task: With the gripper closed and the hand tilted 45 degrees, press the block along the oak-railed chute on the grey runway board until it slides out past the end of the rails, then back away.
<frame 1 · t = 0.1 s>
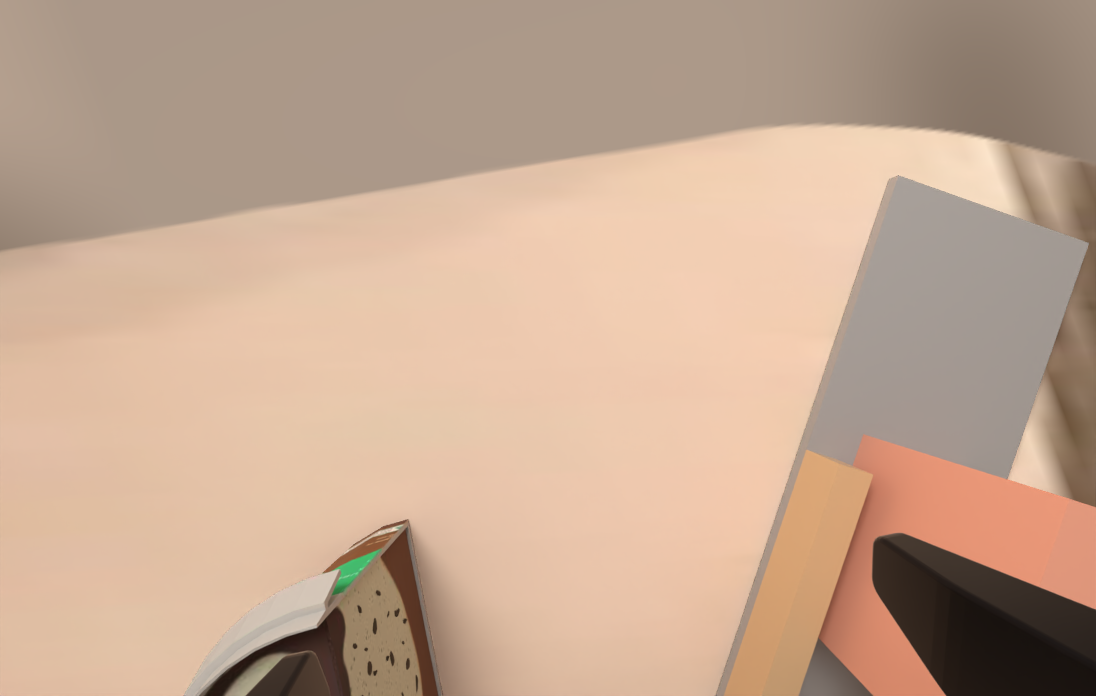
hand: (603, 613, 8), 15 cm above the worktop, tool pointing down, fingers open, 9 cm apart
chute: (852, 596, 25), on the worktop
food container: (362, 628, 24), on the worktop
block: (881, 542, 24), point 1 cm above the worktop, touching chute
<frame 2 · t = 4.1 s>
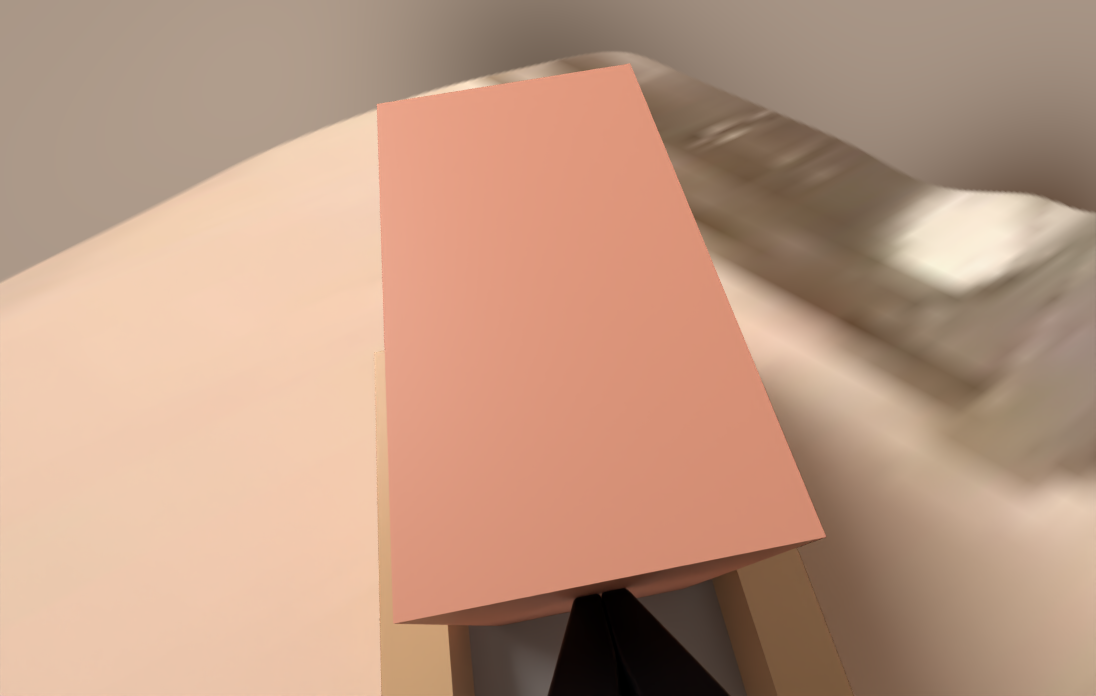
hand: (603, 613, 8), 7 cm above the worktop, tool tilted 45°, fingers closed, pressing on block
chute: (580, 553, 15), on the worktop
block: (560, 445, 16), point 1 cm above the worktop, touching gripper
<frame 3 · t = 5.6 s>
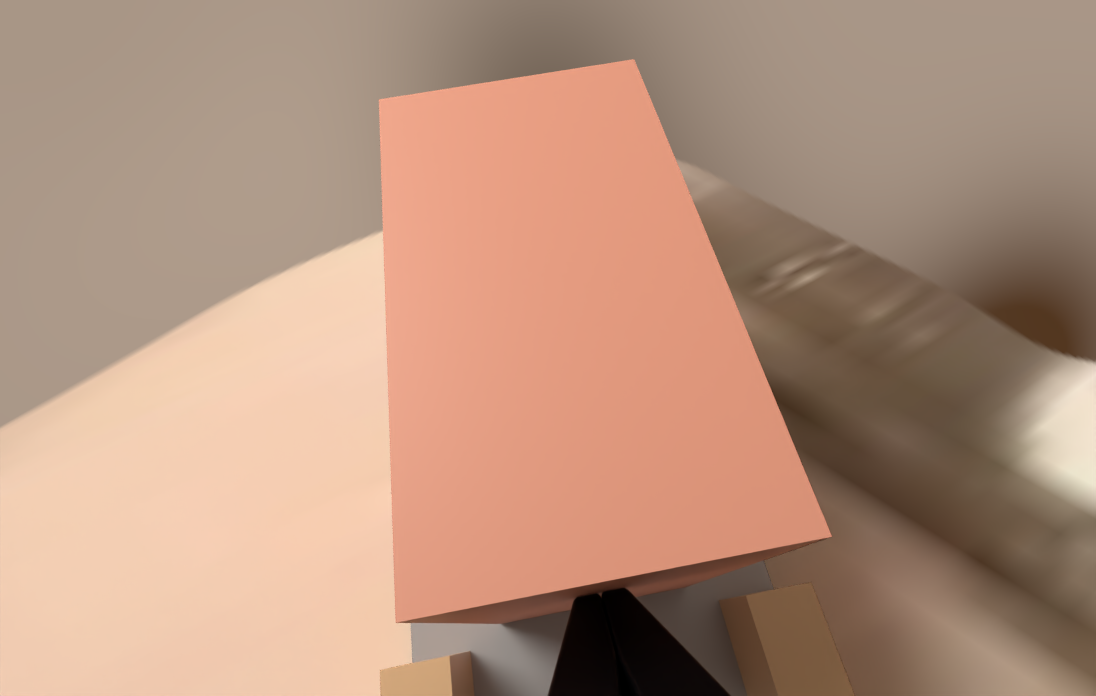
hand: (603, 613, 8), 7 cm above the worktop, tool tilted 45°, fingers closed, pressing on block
block: (562, 443, 16), point 1 cm above the worktop, touching chute, gripper
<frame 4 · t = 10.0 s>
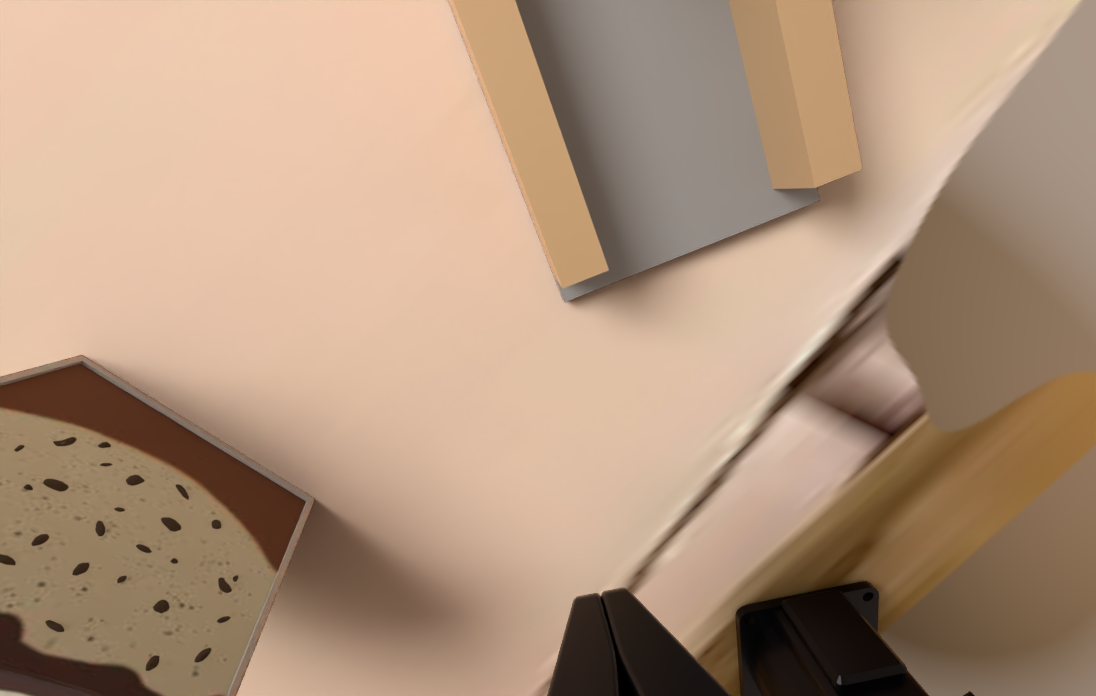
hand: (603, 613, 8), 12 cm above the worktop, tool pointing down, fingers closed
chute: (624, 46, 17), on the worktop
food container: (164, 486, 20), on the worktop
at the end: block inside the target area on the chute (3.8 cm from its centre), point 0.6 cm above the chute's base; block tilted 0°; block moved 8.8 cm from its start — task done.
